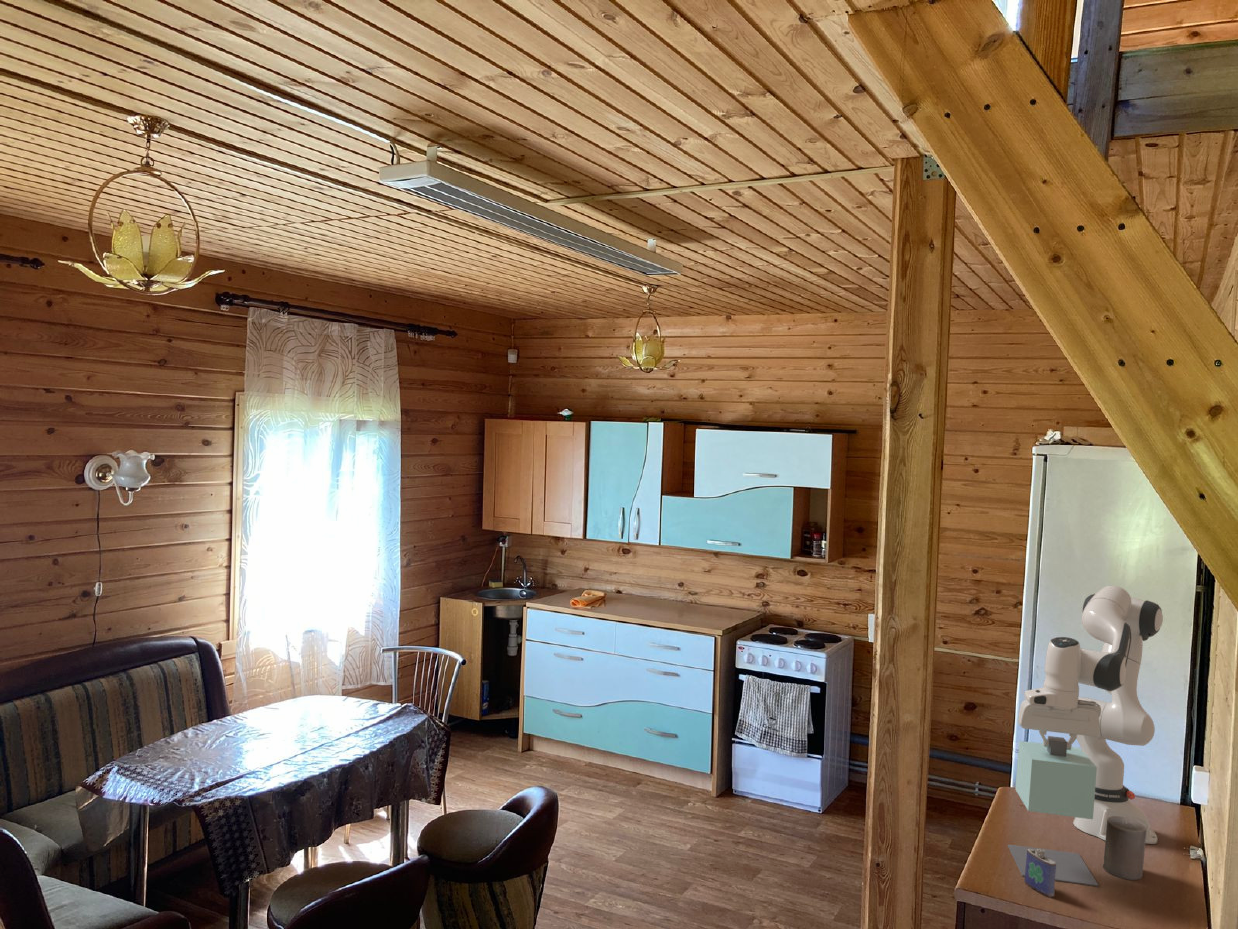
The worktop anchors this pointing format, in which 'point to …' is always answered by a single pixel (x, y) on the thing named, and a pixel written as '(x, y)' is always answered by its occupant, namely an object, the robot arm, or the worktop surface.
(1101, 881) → the worktop surface
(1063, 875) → the mat
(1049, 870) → the flask
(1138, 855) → the pillar candle
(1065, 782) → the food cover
